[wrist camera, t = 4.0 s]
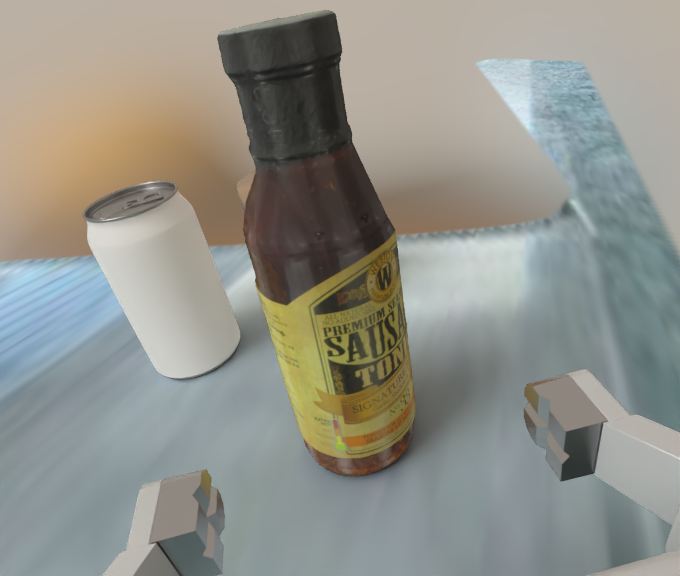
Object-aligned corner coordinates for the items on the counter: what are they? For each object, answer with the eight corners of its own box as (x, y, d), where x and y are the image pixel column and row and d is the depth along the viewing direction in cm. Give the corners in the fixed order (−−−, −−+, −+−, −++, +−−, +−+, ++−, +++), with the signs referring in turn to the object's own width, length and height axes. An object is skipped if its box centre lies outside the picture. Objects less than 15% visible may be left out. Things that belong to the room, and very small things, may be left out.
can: (151, 344, 37) (76, 200, 30) (231, 313, 38) (176, 169, 32) (159, 396, 32) (71, 236, 25) (252, 357, 33) (191, 197, 27)
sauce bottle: (373, 506, 22) (254, 32, 12) (282, 448, 26) (128, 52, 15) (443, 412, 26) (402, -10, 15) (354, 373, 30) (271, 14, 19)
